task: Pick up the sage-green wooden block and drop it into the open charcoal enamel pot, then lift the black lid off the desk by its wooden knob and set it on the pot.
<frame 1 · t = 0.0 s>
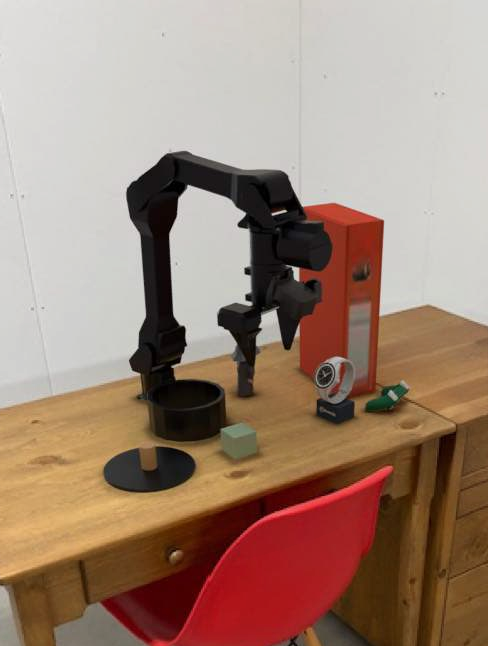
hand: (269, 357, 131), 15 cm above the table, tool pointing down, fingers open, 9 cm apart
wizard figurine: (242, 392, 156), on the table
lid: (149, 469, 129), point 1 cm above the table
file binder: (335, 381, 161), on the table
watch: (334, 417, 146), on the table
block: (239, 453, 134), on the table
green toy shoe: (387, 406, 150), on the table
pot: (188, 427, 143), on the table
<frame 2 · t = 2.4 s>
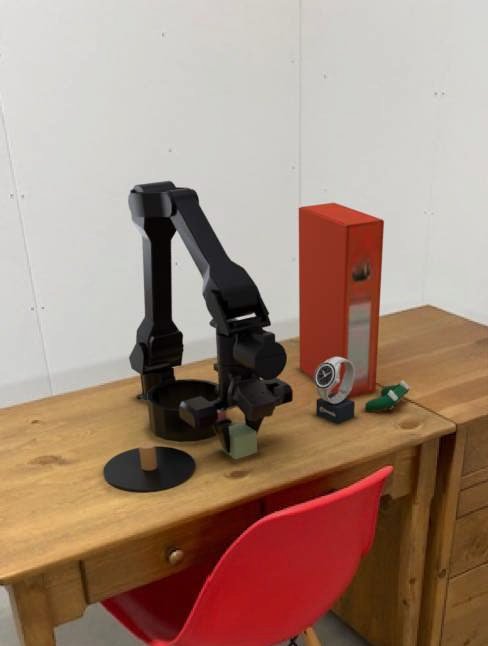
hand: (239, 448, 134), 1 cm above the table, tool pointing down, fingers closed on block, 4 cm apart
block: (239, 453, 134), on the table, touching gripper
everything else where it was.
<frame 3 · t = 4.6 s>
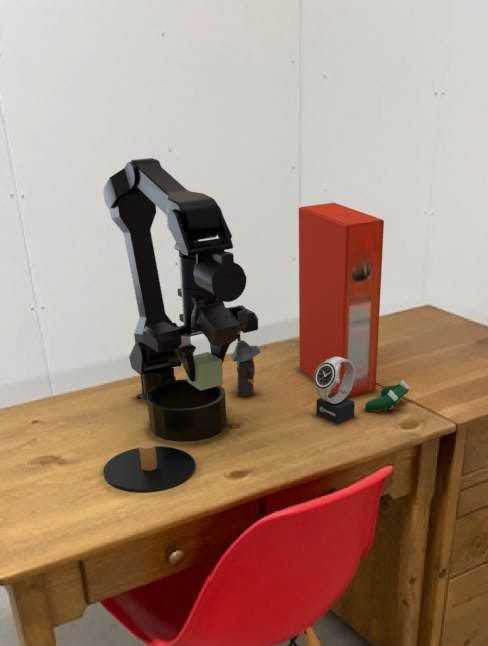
hand: (204, 377, 133), 11 cm above the table, tool pointing down, fingers closed on block, 4 cm apart
block: (205, 383, 134), point 10 cm above the table, touching gripper
everything else where it was.
when the fingers open (7 cm above the table, at t = 6.7 s): block drops 6 cm, resting on pot.
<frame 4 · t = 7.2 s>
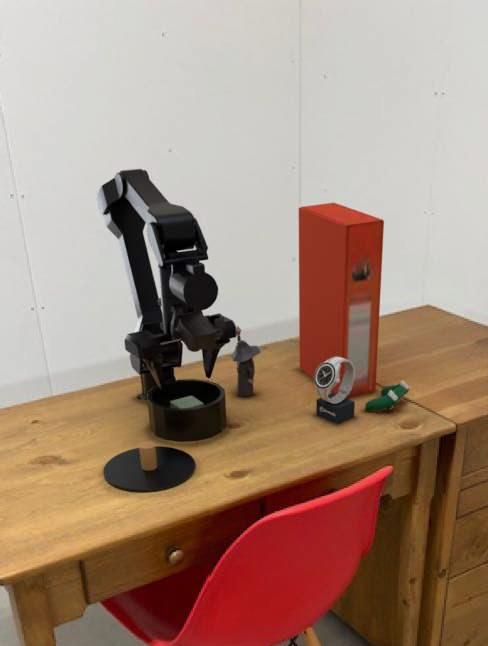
hand: (185, 383, 138), 8 cm above the table, tool pointing down, fingers open, 9 cm apart
block: (188, 424, 143), point 1 cm above the table, touching pot
everything else where it was.
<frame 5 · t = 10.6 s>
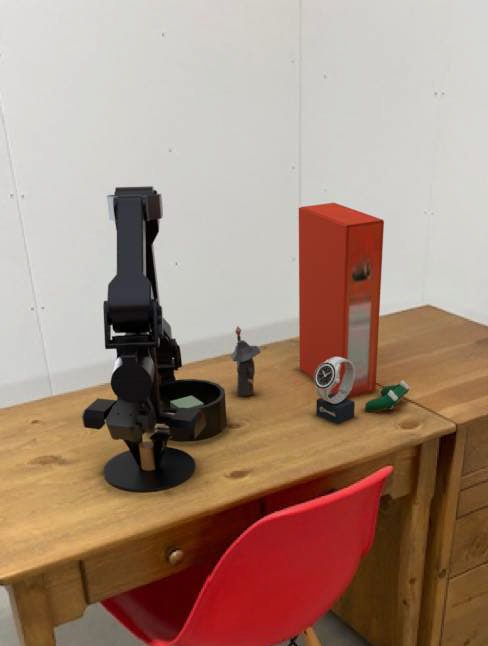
hand: (149, 466, 128), 1 cm above the table, tool pointing down, fingers closed on lid, 3 cm apart
lid: (149, 469, 129), point 1 cm above the table, touching gripper
everything else where it was.
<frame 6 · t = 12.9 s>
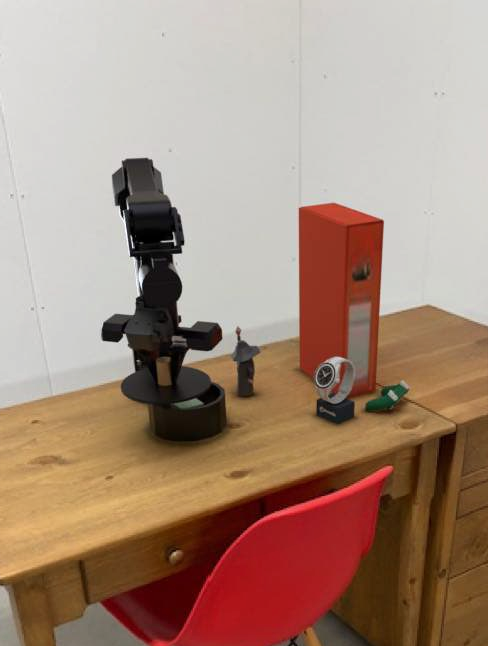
hand: (165, 382, 130), 12 cm above the table, tool pointing down, fingers closed on lid, 3 cm apart
lid: (166, 385, 131), point 11 cm above the table, touching gripper
everything else where it was.
when the fingers open (7 cm above the table, at t = 15.4 s): lid stays where it is, resting on pot.
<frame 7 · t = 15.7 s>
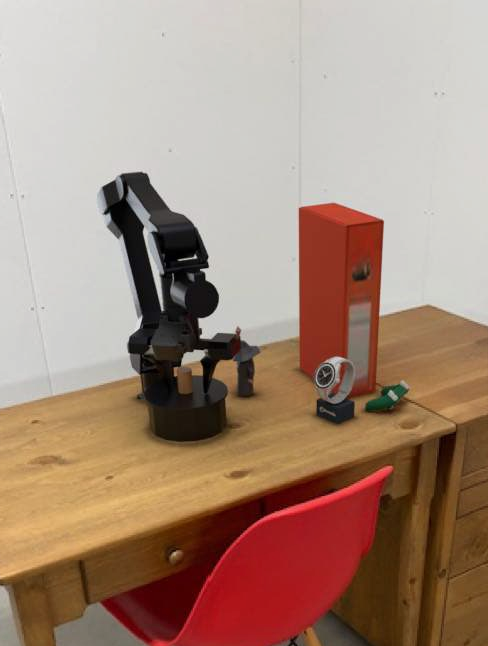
hand: (188, 391, 139), 7 cm above the table, tool pointing down, fingers open, 6 cm apart
lid: (186, 393, 139), point 6 cm above the table, touching gripper, pot
everything else where it was.
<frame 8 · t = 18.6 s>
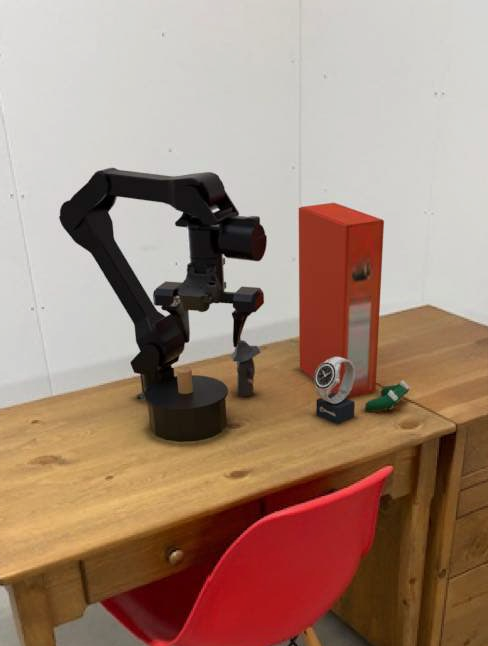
hand: (211, 344, 143), 13 cm above the table, tool pointing down, fingers open, 9 cm apart
lid: (186, 393, 139), point 6 cm above the table, touching pot
everything else where it was.
at the end: block inside the target area in the pot (0.0 cm from its centre), point 0.5 cm above the pot's base; lid 0.1 cm off-centre on the pot, point 6.5 cm above the pot's base; lid tilted 0° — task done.
